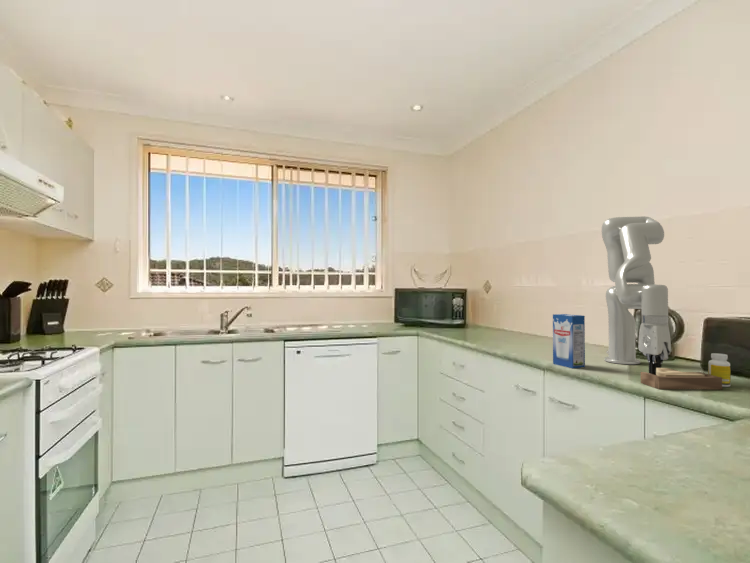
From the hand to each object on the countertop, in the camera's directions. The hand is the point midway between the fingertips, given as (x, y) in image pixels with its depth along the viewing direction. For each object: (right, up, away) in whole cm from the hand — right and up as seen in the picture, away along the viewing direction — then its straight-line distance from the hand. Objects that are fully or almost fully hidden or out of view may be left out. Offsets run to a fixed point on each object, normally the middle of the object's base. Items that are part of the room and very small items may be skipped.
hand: (655, 374), depth 137 cm
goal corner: (0, -1, -11) cm, 11 cm away
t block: (0, -1, -8) cm, 8 cm away
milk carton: (-19, -2, +22) cm, 29 cm away
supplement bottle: (+13, -1, -10) cm, 17 cm away
